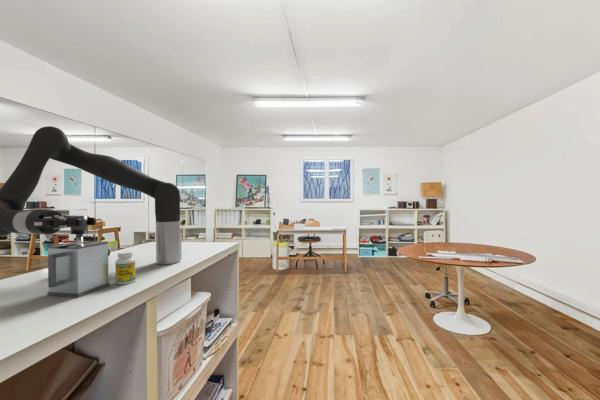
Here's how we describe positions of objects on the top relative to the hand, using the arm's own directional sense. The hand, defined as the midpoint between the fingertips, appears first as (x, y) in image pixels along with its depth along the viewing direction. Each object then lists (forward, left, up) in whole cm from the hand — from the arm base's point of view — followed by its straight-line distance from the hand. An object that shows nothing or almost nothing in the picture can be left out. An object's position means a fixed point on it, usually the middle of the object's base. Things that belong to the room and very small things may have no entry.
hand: (87, 222), depth 79 cm
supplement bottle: (-9, +4, -20) cm, 23 cm away
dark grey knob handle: (0, -3, -16) cm, 16 cm away
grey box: (+2, -3, -20) cm, 20 cm away
